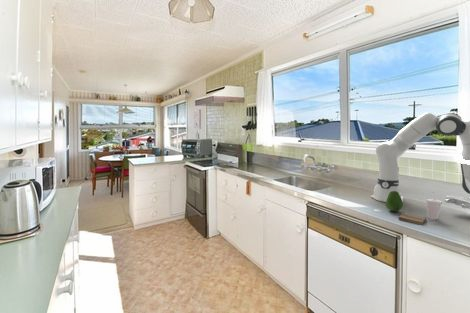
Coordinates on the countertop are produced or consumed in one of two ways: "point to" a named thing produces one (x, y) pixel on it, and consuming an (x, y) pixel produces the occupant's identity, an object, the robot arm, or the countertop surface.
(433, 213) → the smoothie
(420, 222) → the coaster board
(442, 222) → the countertop surface
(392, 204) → the avocado
